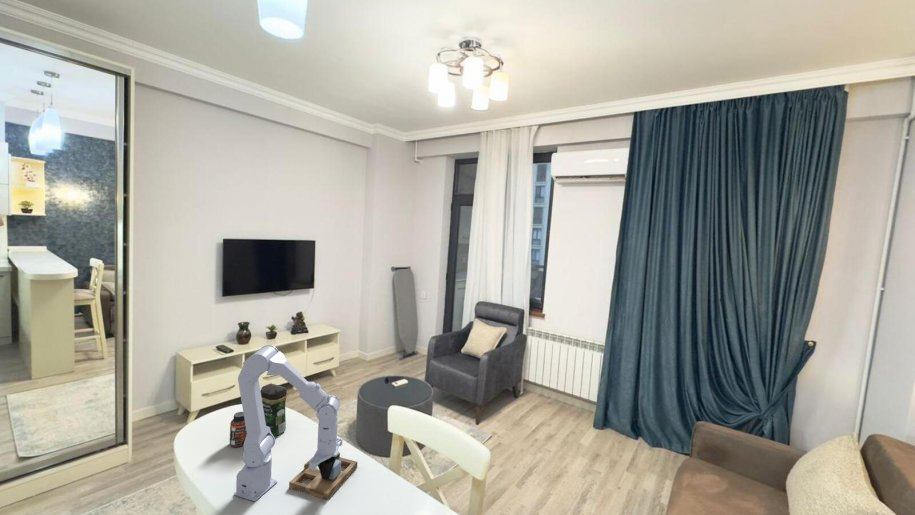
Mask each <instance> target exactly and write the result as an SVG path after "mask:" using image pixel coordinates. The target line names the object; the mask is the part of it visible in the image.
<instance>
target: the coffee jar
mask: <svg viewBox="0 0 915 515" xmlns="http://www.w3.org/2000/svg"><path fill="white" fill-rule="evenodd" d="M287 390H288V389H287V387H285V386H282V385H278V384H275V383H271V382H270V383H268V384H266V385H263V386H261V388H260V391H261V398H262V404H263V410H264V416H265V423H266V426H268V427H270V431H271V433H272V435H273V436H274V437H276V436H277V437H278V436H279V435H281V434H283V433H284V432H285V431H286V429H287V426H286V425H287V423H286V422H287V420H286V418H287V417H286V401H287V397H288V392H287Z"/></svg>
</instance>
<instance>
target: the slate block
mask: <svg viewBox="0 0 915 515" xmlns="http://www.w3.org/2000/svg"><path fill="white" fill-rule="evenodd" d="M341 470H342V466H341V461H340V460H336V461H335V463H334V465H333V468H332V471H331V474H330V477H329V479H332V480H334V479H335V478H336V477H337V476H338V475H339V474H340V473H341Z"/></svg>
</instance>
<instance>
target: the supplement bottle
mask: <svg viewBox="0 0 915 515" xmlns="http://www.w3.org/2000/svg"><path fill="white" fill-rule="evenodd" d="M229 424H230V425H229V426H230V427H229V445H230V447H233V448H240V447H244V442H245V439H246V435H247V431H246V425H245V419H244V413H243V411H237V412H235V413H233V418H232V420H230V423H229Z"/></svg>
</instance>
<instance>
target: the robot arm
mask: <svg viewBox="0 0 915 515" xmlns="http://www.w3.org/2000/svg"><path fill="white" fill-rule="evenodd" d="M264 373H266V374H265V375H266V376H277V375H279V376H280V377H281V378H282V379H284V380H285V381H287V383H289V384H290V385H292V387H294V388H295V389H297V391H298V394H299V395H298V396H299V398H300V399H302V401H304V402H305V403H306V404H307V405H308V406H309V407H310V408H311V409H312V410H313V411H315V412H316V413H315V415H316V416H315V417H316V418H317V420H318V427H317V448H316V451H315V454H314V455H313V457H312V458H313V459H312V460H311V462H310V463H309V469H312V470H315V469H316V468H317V465H318V467H319V470H320V473H321V477H322V479H325V480H328V479H329V477H330V474H331V471H332V468H333V465H334V463H335V461H336V459H337V457H338V454H339V453H340V451H339V448H340V447H342V445H343V438H339V437H338V423H339V421H338V412H339V409H340V406H341V402H340V400H339V399H338V397H337V396H335V395H330V394H328V393H327V392H326V391H324V390H323V389H322V387H321V384H320V383H319V382H318V383H316V382H315V381H308V380H307V379H306V378H305V377H304V376H302V374H301V373H300V372H299V371H298V370H297V369H296V368H295V367H294V365H292V363H290V361H288V359H287V358H286V356H285V354H284V353H283V352H281V351H279V349H278V348H277V347H276V346H274V345H272V344H267V345H264V346H261V347H260V349H259V350H258V349H257V351H256V352H254V353H253V354H252V355H250V356H249V357H247V359H246V360H244V362H242V367H241V370H240V371H239V374H238V377H237V383H238V388H239V393H240V401H241V407H242V412H243V413H244V419H245V425H246V431H247V435H246V439H245V442H244V445H243V453H242V456H241V457H242V462H243V464H244V465H243V467H242V468H241V470H239V471H238V473H237V474H236V484H235V488H236V489H235V492H233V496H237V497H240V498H242V499H246V500H249V501H252V502H256V501H257V500H259V498H261V497H262V496H263V495H264V494H266V493H267V492H268V491H269V490H270V489H272V488H273V486H275V485H276V484H277V483H278V480H277V479H273V478H272V466H273V465H272V460H273V459H272V458H273V455H272V449H273V448H274V447H275V444H276V438H275V436H273V435H272V433H271V431H270V427H268V426H266V423H265V416H264V410H263V404H262V398H261V388H260V387H261V385H260V380H259V379H260V377H261V375H263V374H264Z"/></svg>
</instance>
